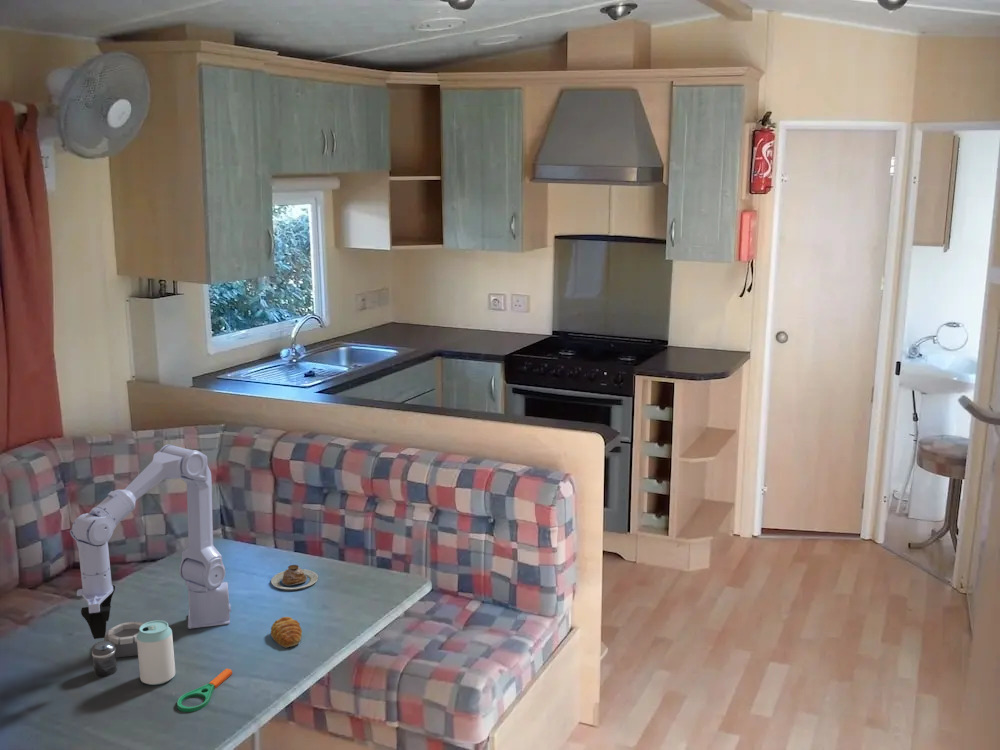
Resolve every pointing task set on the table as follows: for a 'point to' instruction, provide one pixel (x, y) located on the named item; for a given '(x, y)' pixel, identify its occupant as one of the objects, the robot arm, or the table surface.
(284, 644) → the pastry
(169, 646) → the can
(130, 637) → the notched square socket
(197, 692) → the magnifying glass
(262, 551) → the table surface
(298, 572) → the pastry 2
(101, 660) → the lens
